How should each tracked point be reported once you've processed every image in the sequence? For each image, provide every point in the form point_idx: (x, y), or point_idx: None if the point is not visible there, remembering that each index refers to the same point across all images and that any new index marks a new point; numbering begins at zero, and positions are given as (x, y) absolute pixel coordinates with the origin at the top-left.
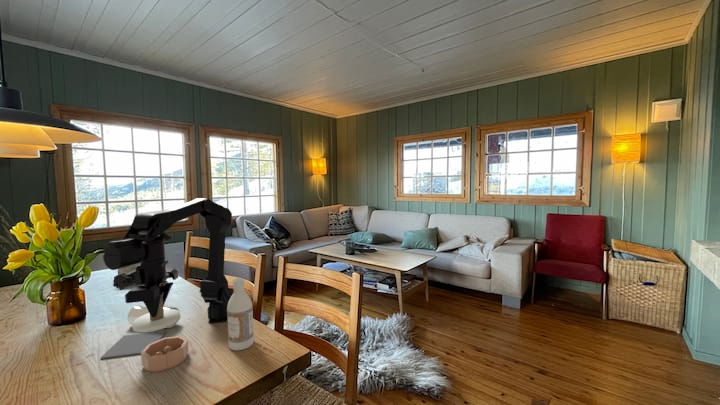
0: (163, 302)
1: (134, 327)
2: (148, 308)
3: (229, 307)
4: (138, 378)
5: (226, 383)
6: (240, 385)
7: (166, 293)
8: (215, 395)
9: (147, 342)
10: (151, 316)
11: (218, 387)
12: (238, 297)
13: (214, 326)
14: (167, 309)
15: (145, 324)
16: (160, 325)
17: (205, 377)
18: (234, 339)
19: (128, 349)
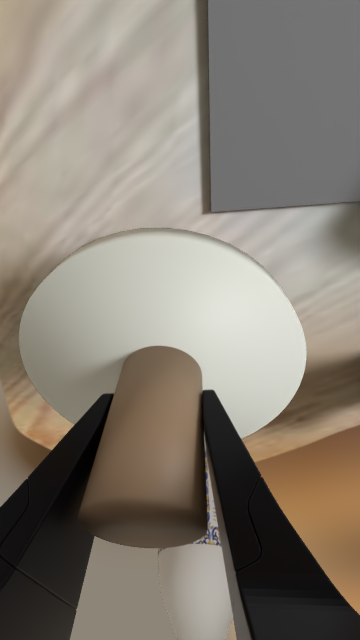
0: (211, 485)
1: (29, 300)
2: (41, 471)
3: (168, 568)
4: (51, 253)
5: (55, 430)
6: (52, 445)
7: (231, 602)
8: (20, 422)
9: (307, 153)
10: (98, 399)
11: (42, 422)
12: (172, 626)
13: (345, 362)
14: (295, 384)
15: (68, 352)
16: (67, 416)
17: None
18: None
19: (262, 72)
